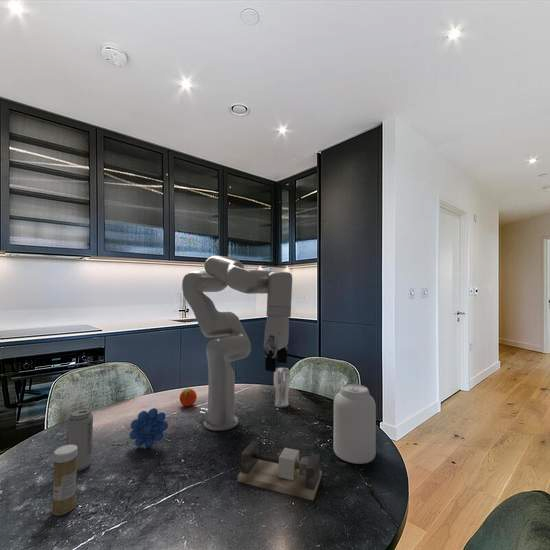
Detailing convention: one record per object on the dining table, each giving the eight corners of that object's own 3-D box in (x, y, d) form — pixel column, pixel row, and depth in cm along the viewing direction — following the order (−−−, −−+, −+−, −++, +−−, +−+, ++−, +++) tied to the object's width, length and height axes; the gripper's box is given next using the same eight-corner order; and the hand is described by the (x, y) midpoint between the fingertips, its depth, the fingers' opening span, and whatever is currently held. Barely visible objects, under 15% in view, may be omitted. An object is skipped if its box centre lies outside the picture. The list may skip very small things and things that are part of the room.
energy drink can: (68, 463, 88) (70, 409, 89) (93, 458, 91) (94, 406, 91) (63, 475, 83) (65, 418, 83) (90, 470, 85) (91, 414, 86)
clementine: (193, 410, 126) (193, 392, 126) (176, 410, 126) (176, 392, 126) (198, 402, 134) (198, 386, 134) (182, 402, 134) (182, 385, 134)
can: (369, 470, 87) (369, 397, 87) (327, 456, 93) (327, 389, 94) (380, 450, 97) (380, 385, 98) (341, 439, 104) (342, 378, 104)
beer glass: (288, 408, 129) (288, 372, 129) (271, 407, 130) (272, 371, 130) (290, 402, 135) (291, 367, 136) (275, 401, 137) (275, 366, 137)
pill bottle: (48, 510, 70) (50, 449, 70) (72, 499, 74) (73, 441, 74) (55, 520, 67) (57, 456, 68) (78, 508, 71) (80, 448, 71)
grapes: (171, 440, 102) (171, 402, 102) (165, 451, 95) (165, 411, 96) (134, 440, 101) (135, 403, 102) (126, 451, 95) (127, 411, 95)
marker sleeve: (278, 476, 80) (278, 457, 80) (284, 466, 84) (284, 447, 85) (293, 480, 78) (293, 460, 79) (298, 469, 83) (299, 450, 83)
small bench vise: (237, 481, 81) (238, 456, 81) (253, 461, 90) (253, 438, 91) (313, 500, 74) (313, 472, 74) (321, 476, 83) (321, 451, 84)
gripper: (277, 308, 106) (275, 358, 106) (256, 313, 90) (253, 372, 90) (298, 310, 103) (296, 361, 103) (280, 315, 87) (277, 376, 87)
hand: (276, 366), depth 97 cm, fingers open, 9 cm apart
